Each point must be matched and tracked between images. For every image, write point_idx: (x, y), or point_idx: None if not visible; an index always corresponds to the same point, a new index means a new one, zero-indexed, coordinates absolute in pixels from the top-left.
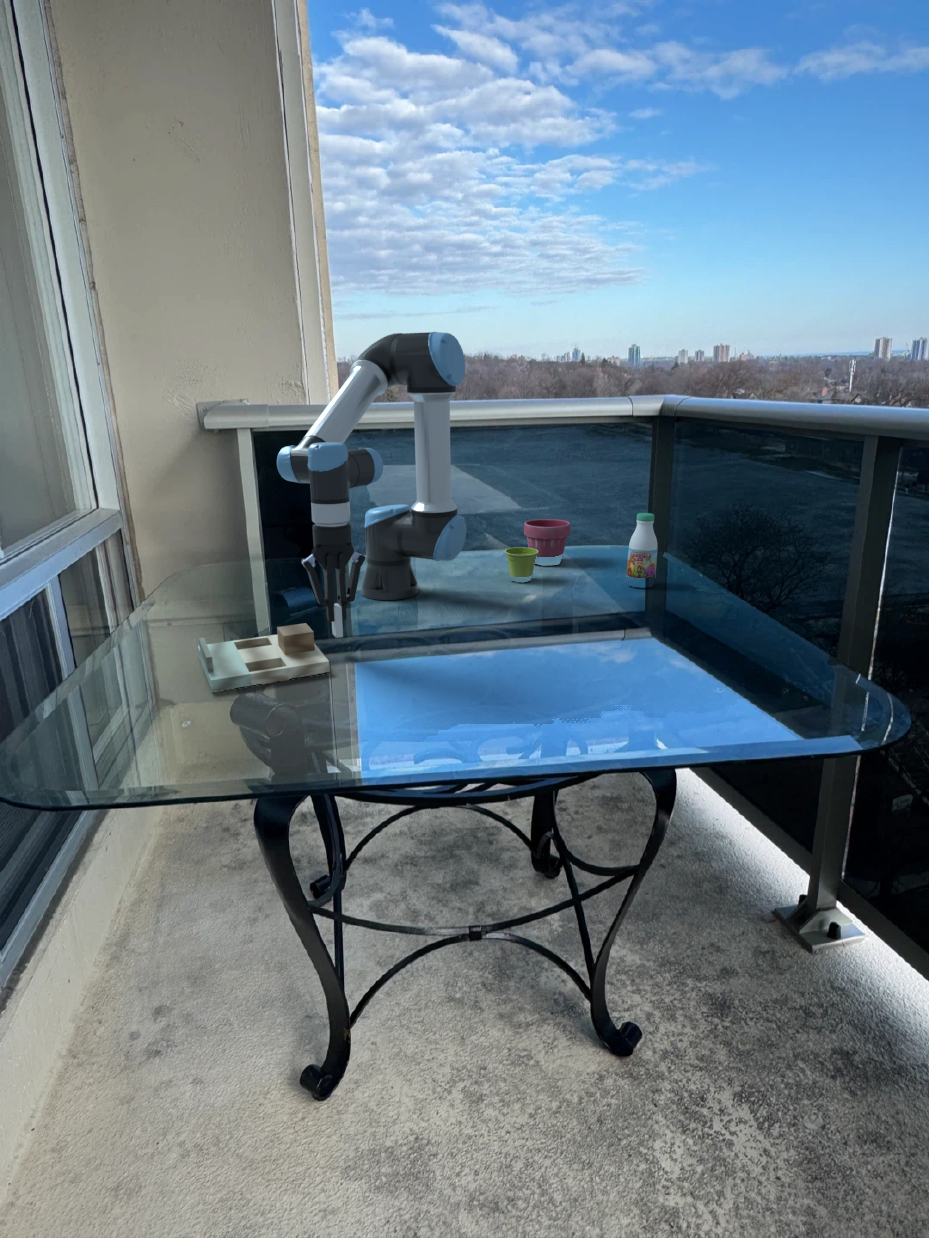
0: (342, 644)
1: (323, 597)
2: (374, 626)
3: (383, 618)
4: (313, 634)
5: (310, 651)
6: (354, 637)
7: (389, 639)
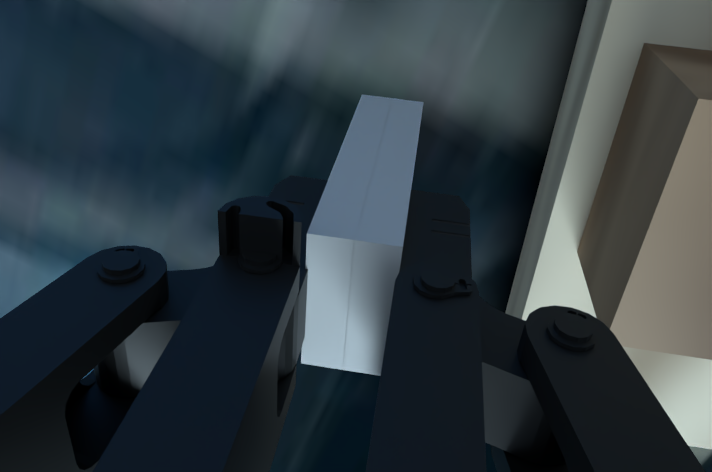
0: None
1: (564, 388)
2: None
3: None
4: (690, 89)
5: (687, 37)
6: None
7: (31, 145)
